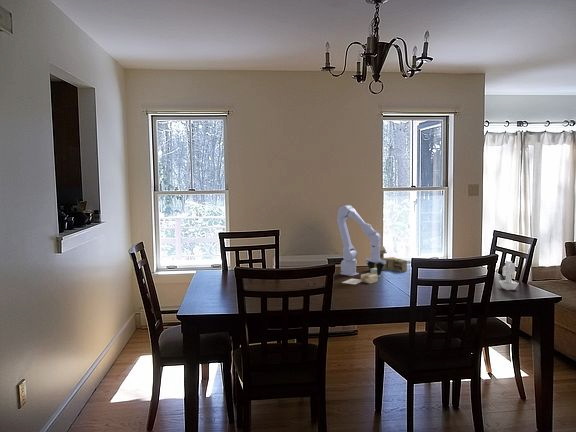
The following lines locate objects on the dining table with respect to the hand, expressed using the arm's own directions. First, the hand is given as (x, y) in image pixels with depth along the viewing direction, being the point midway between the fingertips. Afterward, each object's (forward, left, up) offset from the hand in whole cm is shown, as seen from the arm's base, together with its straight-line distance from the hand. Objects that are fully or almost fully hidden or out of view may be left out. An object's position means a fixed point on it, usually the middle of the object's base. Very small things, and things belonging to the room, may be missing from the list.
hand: (375, 274), depth 278 cm
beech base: (+5, -13, -1) cm, 14 cm away
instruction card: (-2, -19, -1) cm, 19 cm away
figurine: (+71, +21, -2) cm, 74 cm away
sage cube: (0, 0, -1) cm, 1 cm away
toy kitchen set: (-5, +19, -2) cm, 19 cm away
